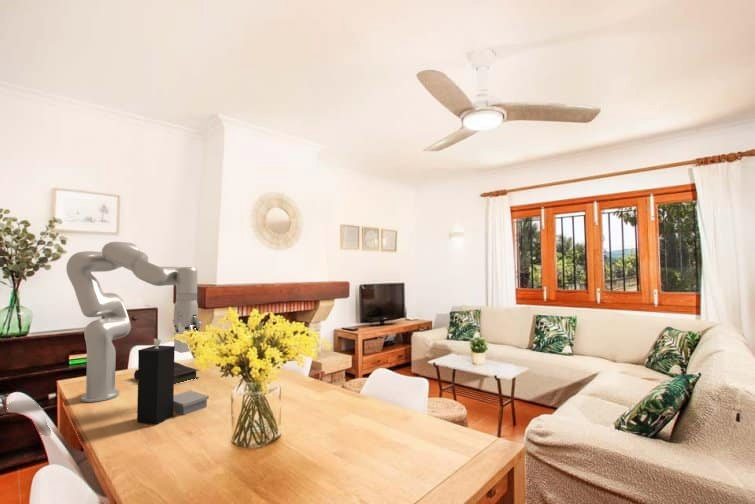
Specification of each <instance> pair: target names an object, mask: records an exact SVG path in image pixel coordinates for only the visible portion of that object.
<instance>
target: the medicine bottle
mask: <svg viewBox="0 0 755 504" xmlns="http://www.w3.org/2000/svg"><path fill="white" fill-rule="evenodd" d="M191 325H193V324H191ZM193 328H194V327H192V329H193ZM178 331H179V332H176V331H175V332H174V335H173V346H175V351H174V352H177V353H180V354H184V353H187V352H191V351H190V350H189V348H188V345H187V344H186V343H182V342H181V341H179V340H176V339H174V337H175V335H176V334H183V332H184V331H189V327H182V326H181V323H179V325H178Z"/></svg>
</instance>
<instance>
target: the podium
mask: <svg viewBox="0 0 755 504" xmlns="http://www.w3.org/2000/svg"><path fill="white" fill-rule="evenodd" d="M209 398H210V396H209V395H206V394H203V393H200V392H196V391H193V390H187V391H184V392H181V393H178V394H174V403H173V413H174V412H175V413H178V414H180V415H184V416H185V415H187V414H190V413H193V412H196V411H198V410H199V411H200V410H202V409H204V408H207V406H208V405H207V402H208V401H207V400H209Z"/></svg>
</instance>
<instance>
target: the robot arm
mask: <svg viewBox="0 0 755 504" xmlns="http://www.w3.org/2000/svg"><path fill="white" fill-rule="evenodd" d="M120 268H124V269H126V270H128V271H131V272H132V273H133V275H134V276H135V277H136V278H138V279H139V280H141V281H143V282H144V283H147V284H149V285H152V286H155V287H160V286H161V287H162V286H164V287H165V286H175V285H176V290H175V294H176V296H175V298H176V299H175V304H174V309H173V319H172V323H173V327H174V331H175V332H179V331H178V325H179V323H181V326H182V327H189V330H191V329H192V327H194V328H196V330H197V331H198V332H199V331H200V330H199V329H200V327H201V324H202V322H201V320H200V319H199V303H198V269H197V268H196V267H195V266H194V267H193V266H180V267H178V266H159V265H155V264H153V263H151V262H149V256H148V255H147V253H146V252H143V251H141V250H140V248H139V246H137V244H135V243H132V242H127V241H111V242H108V243H106V244H104V245H103V247H102V249H101V251H91V250H90V251H89V250H87V251H84V250H83V251H80V252H79V251H78V252H76V253H74V254H72V255H71V256H70V257H69V259H68V260H67V263H66V269H65V270H66V274H67V277H68V279H69V281H70V283H71V285H72V287H73V289H74V293H75V296H76V298H77V301H78V305H79V308H80V311H81V313H82V314H83V316H84V317H86V318H98V317H105V318H100V319H99V318H98V319H96V320H92V321H91V322H89V323H88V324H87V325H86V327H85V329H84V334H83V335H84V340H85V344H86V375H85V376H86V380H85V381H86V383H85V394H83V395H81V397H80V401H82V402H84V403H95V402H103V401H107V400H110V399H113V398H115V397H117V396H118V395H120V390H119V389H116V363H117V362H116V360H117V359H116V357H117V356H116V354H117V353H116V347H115V345H114V344H113V341H114V340H118V339H122V338H125V337H126V336H127V335H128V334H129V333H130V332H131V331H132V330H131V329H132V325H131V324H132V323H131V320H130V317H129V314H128V310H127V308H126V305H125V303H124V302H125V301H124V300H123V298H122V297H121V296H120V295H118V294H116V293H113V292H105V293H104V291H103V290H102V288H101V284H100V282H99V280H98V279H97V278H96V276H94V275H93V274H92V273H93V272H94V273H96V272H100V273H101V272H102V273H103V272H111V271H114V270H117V269H120ZM191 324H193V325H191ZM194 328H193V329H194Z"/></svg>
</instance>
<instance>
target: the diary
mask: <svg viewBox="0 0 755 504" xmlns="http://www.w3.org/2000/svg"><path fill="white" fill-rule="evenodd" d="M199 371H200V369H197V368H193V367H190V366H187V365H183V364H181V363H179V362H175V361H174V385H177V384H176V383H178V384H179V383H180V382H184V381H187V380H191V379H193V380H192V381H195V380H194V379H195V378H196V380H198V379H199V378H200V376H197V372H199ZM133 377H134V379H135V380H137V381H138V369H136V370H135V371H134V374H133ZM184 383H185V382H184ZM180 384H181V383H180Z"/></svg>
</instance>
